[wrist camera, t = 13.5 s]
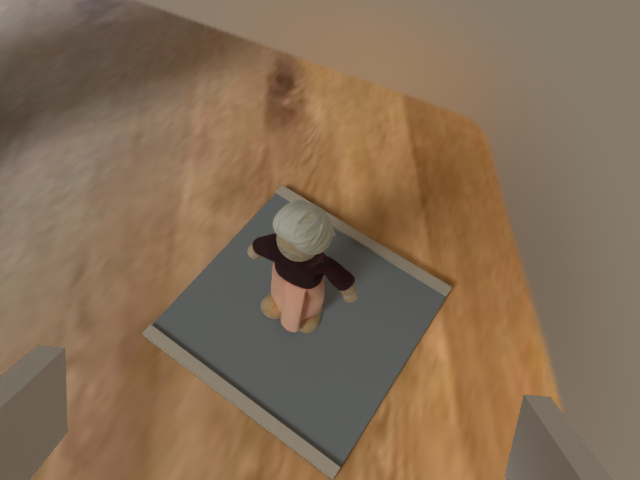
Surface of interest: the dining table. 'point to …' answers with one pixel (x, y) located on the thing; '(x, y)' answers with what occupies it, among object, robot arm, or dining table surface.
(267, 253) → the grandmother figurine
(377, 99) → the dining table surface
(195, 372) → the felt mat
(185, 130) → the dining table surface
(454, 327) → the dining table surface
